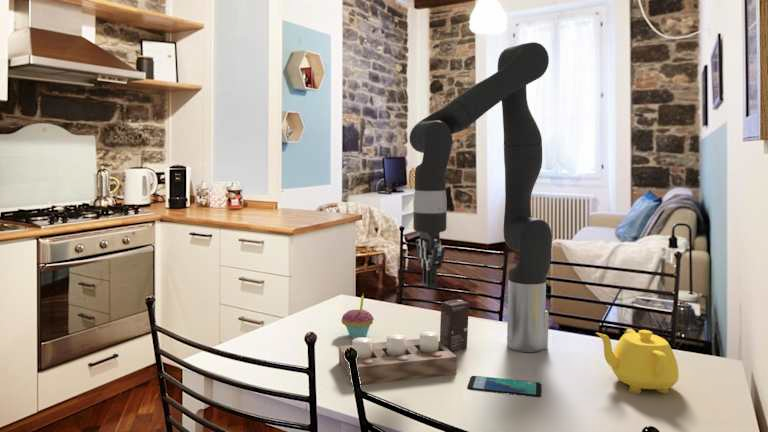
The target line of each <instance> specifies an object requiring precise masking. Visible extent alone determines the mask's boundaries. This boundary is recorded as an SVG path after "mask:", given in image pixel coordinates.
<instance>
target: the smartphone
mask: <svg viewBox="0 0 768 432" xmlns="http://www.w3.org/2000/svg"><path fill="white" fill-rule="evenodd" d="M469 378H470V379H469V380H468V384H467V387H466V389H467V390H471V391H477V392H478V391H479V392H480V391H481V392H488V393H489V392H490V393H496V392H497V393H498V394H504V393H509V394H508V395H514V394H516V395H515V396H521V395H525V397H531V396H532V398H533V397H534V398H541V397H542V383H540V382H539V381H529V380H520V379H512V378H511V379H510V378H501V377H490V376H482V375H471V376H470V377H469ZM497 393H496V394H497Z"/></svg>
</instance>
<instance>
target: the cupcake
mask: <svg viewBox="0 0 768 432" xmlns="http://www.w3.org/2000/svg"><path fill="white" fill-rule="evenodd" d="M364 294H365V293H364V292H363V293H362V295H361V298H360V305H359V309H351V310H350V309H349V310H347V312H345V313H344V314H343V315H342V317H341V324H342V325H344V326H345V328H346V330H347V333H348V336H349V337H350V338H352V337H353V339H355V338H359V337H365V336H366V337H367V336H368V332H369V330H370V326H371V325H372V324H373V321H374V320H375V319H374V316H373V315H372V313H371V312H369V311H368V310H365V309H363V307H364V298H365V297H364Z"/></svg>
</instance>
